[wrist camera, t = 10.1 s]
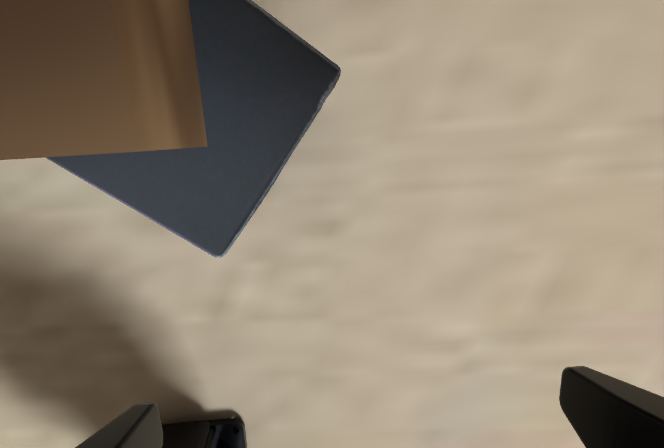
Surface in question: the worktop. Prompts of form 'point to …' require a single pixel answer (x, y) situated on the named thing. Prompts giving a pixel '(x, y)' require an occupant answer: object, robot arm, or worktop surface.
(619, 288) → the worktop surface
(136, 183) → the small box
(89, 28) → the walnut block
